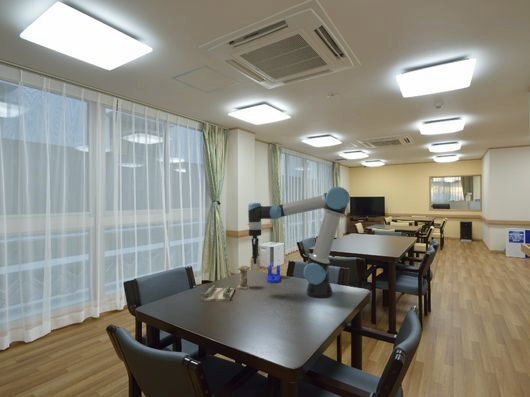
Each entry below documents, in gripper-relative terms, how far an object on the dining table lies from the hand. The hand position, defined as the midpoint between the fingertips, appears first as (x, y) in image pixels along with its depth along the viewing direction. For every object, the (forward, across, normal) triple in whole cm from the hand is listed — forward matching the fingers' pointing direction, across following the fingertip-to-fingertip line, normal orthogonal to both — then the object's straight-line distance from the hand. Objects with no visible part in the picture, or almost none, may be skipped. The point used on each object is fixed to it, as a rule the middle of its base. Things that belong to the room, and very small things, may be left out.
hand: (255, 268), depth 169 cm
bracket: (+17, -34, +10) cm, 39 cm away
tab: (0, 0, 0) cm, 0 cm away
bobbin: (+16, -15, -9) cm, 24 cm away
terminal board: (+16, 0, -22) cm, 27 cm away
